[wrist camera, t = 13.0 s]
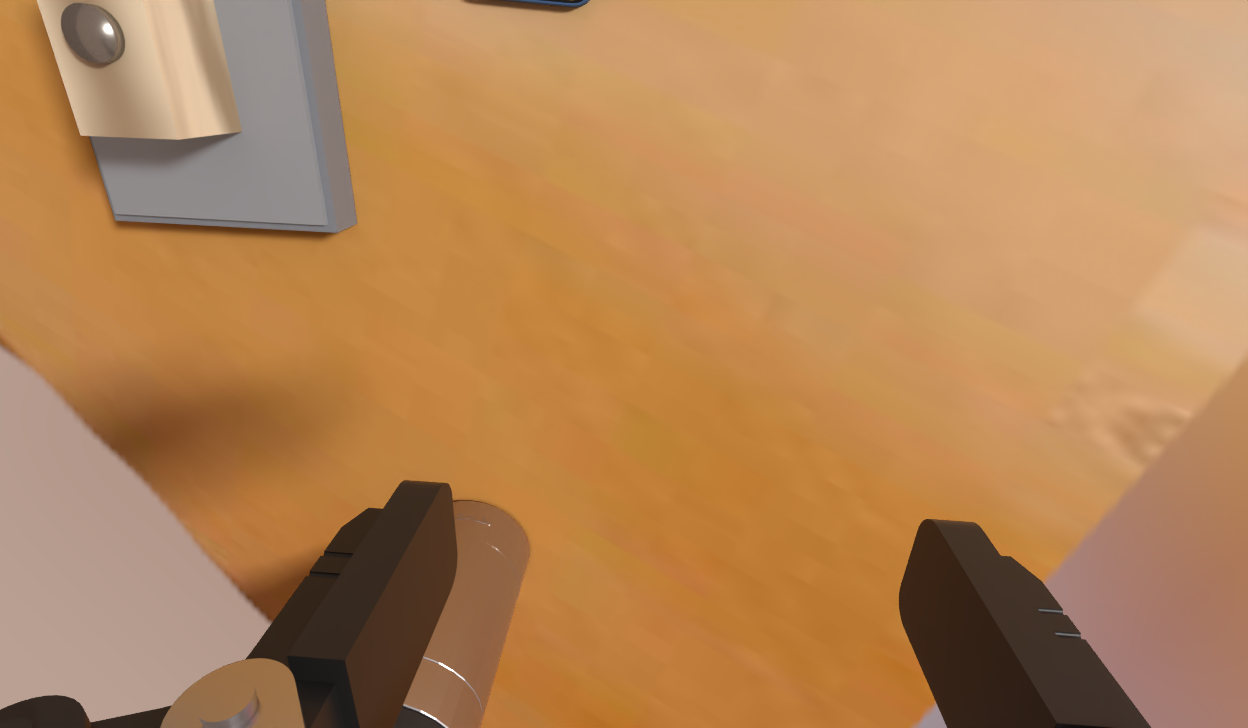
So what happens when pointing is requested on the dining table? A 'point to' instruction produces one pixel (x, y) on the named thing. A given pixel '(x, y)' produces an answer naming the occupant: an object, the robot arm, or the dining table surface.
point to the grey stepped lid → (250, 136)
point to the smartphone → (556, 2)
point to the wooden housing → (143, 67)
